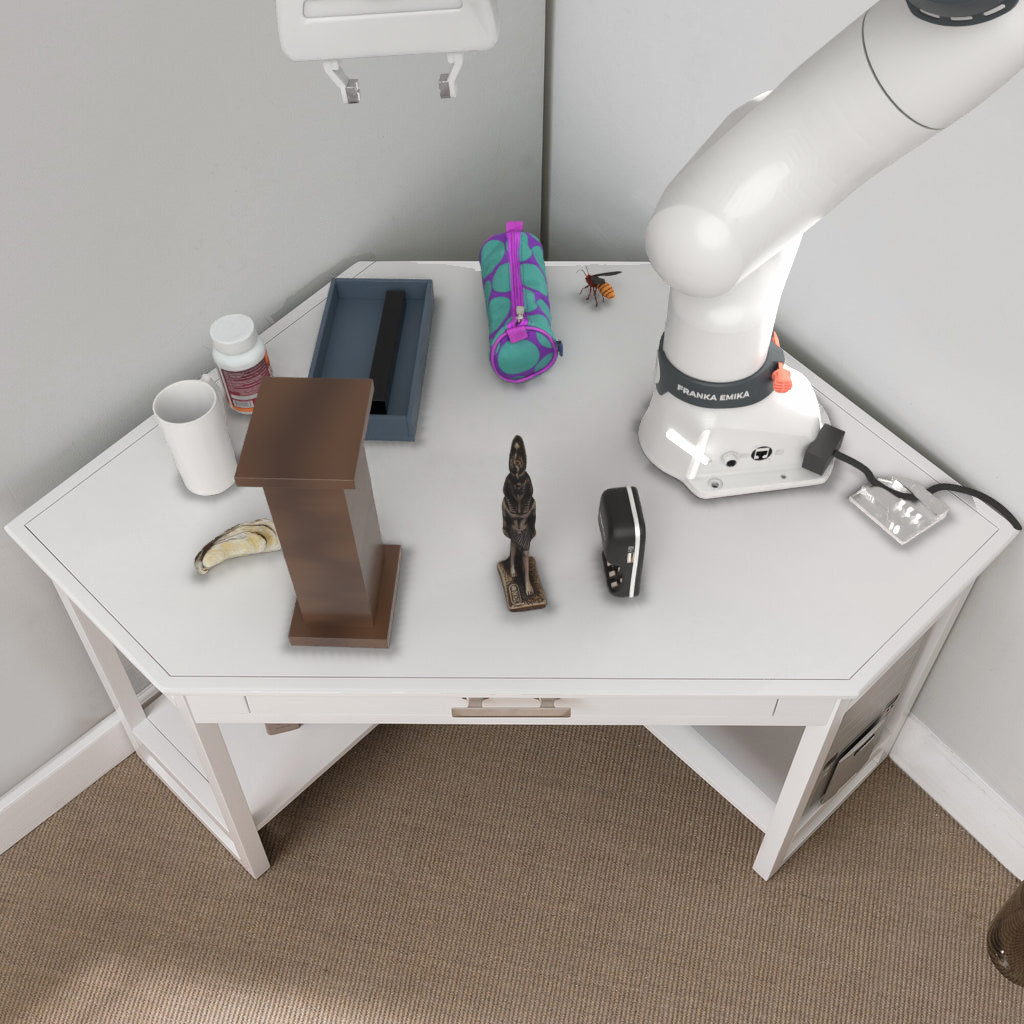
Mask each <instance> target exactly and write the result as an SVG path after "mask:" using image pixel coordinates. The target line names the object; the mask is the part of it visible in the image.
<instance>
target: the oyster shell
mask: <svg viewBox="0 0 1024 1024" xmlns="http://www.w3.org/2000/svg"><path fill="white" fill-rule="evenodd" d="M280 550H282V548H281V545H280V542H279V539H278V535H277V532H276V529H275V526H274V523H273V520H270V519H269V518H258V519H256V520H254V521H245V522H243V523H238V524H236V525H234V526H232V527H230V528H228V529H226V530H224V532H222V533H221V534H219V535H217V536H216V537H214V539H212V540H210V541H209V542H207V544H205V545H204V546H203V547H202V548H201V550H200V551H199V552H198V553H197V555H196V556H195V557H194V562H193V565H194V567H195V570H196V572H197V574H198V575H201V576H202V575H205V574H207V573H208V572H209V570H210V569H211V568H213V567H214V566H216V565H218V564H220V563H222V562H225V561H227V560H230V559H233V558H239V557H246V556H250V555H253V554H260V553H271V552H275V551H280Z"/></svg>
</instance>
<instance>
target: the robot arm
mask: <svg viewBox="0 0 1024 1024" xmlns="http://www.w3.org/2000/svg"><path fill="white" fill-rule="evenodd" d="M273 1H274V2H275V5H274V6H275V17H276V27H277V34H278V41H279V46H280V50H281V52H282V54H283V55H284V56H286V58H287V59H288V60H289V61H290V62H293V63H301V62H302V63H304V62H305V63H306V62H318V61H322V67H323V70H324V72H325V73H326V75H327V76H328V77H329V78H330V80H331V81H332V82H333V83H334V84H335V86H337V88H338V89H339V90H340V94H341V99H342V103H343V105H351V104H360V100H361V98H362V93H361V89H360V88H359V87H360V82H359V79H358V78H350V77H349V76H348V74H347V73H346V72H345V71H344V69H343V68H342V66H341V64H342V61H343V60H351V59H354V60H355V59H368V58H370V59H371V58H386V57H387V58H388V57H399V56H400V57H401V56H416V55H417V56H418V55H433V54H446V58H447V63H448V64H451V66H450V69H449V71H448V73H440V74H439V79H438V89H439V90H440V92H439V97H440V99H441V100H442V99H456V98H457V97H458V83H457V82H458V81H457V77H458V75H459V73H460V70H461V68H462V66H463V63H464V60H465V55H466V53H467V52H482V51H483V52H484V51H491V50H493V48H494V47H495V45H496V43H498V40H499V38H500V34H501V22H500V21H501V20H500V10H499V4H498V0H273ZM1022 69H1024V0H878V1H876V2H875V3H873V4H872V6H870V7H869V8H868V9H867V10H865V11H864V12H863V13H862V14H861V15H859V16H858V17H856V18H855V19H854V20H853V21H852V22H851V23H849V24H848V25H847V26H846V27H844V28H843V29H842V30H840V32H838V33H837V34H836V35H834V37H832V38H831V39H830V40H829V41H828V42H826V43H825V44H823V46H822V47H820V48H818V50H817V51H815V52H814V53H813V54H812V55H810V56H809V57H808V58H807V59H806V60H804V61H802V63H801V64H800V65H798V66H797V67H796V68H795V69H794V70H793V71H792V72H791V73H790V74H788V75H787V76H786V77H785V78H784V79H783V80H782V81H781V82H780V83H779V84H778V85H777V86H776V87H774V89H772V90H767V91H765V92H763V93H760V94H759V95H757V96H755V97H753V98H752V99H750V100H748V101H747V102H745V103H743V104H742V105H740V106H738V107H737V108H735V109H734V110H732V112H730V113H729V114H728V115H726V117H725V118H724V119H723V120H722V122H721V123H720V124H719V125H718V127H717V128H716V129H715V130H714V131H713V132H712V133H711V134H710V136H709V137H708V138H707V139H706V140H705V142H704V143H703V144H702V145H701V146H700V147H699V148H698V149H697V150H696V152H695V153H694V154H693V156H691V158H690V159H689V160H688V161H687V163H686V164H685V165H684V166H683V167H682V168H681V169H680V170H679V171H678V173H677V174H676V175H675V176H674V177H673V179H671V181H670V182H669V183H668V184H667V186H666V187H665V188H664V190H663V192H662V194H661V196H660V197H659V199H658V202H657V204H656V206H655V208H654V209H653V212H652V215H651V217H650V219H649V222H648V224H647V227H646V230H645V234H644V245H645V246H644V248H645V252H646V256H647V259H648V262H649V264H650V265H651V267H652V268H653V270H654V272H655V273H656V274H657V276H658V277H659V278H660V279H661V280H662V281H663V282H664V283H665V284H666V285H668V286H669V289H668V290H669V291H668V299H667V308H666V316H665V323H664V324H665V325H664V330H663V332H662V334H661V336H660V339H659V343H658V349H656V357H655V363H654V365H655V366H654V377H653V378H654V383H655V385H654V390H653V393H652V397H651V399H650V402H649V404H648V407H647V409H646V411H645V413H644V414H643V416H642V418H641V420H640V423H639V426H638V433H637V434H638V441H639V442H638V443H639V445H640V447H641V450H642V451H643V453H644V455H645V456H646V458H647V459H648V460H649V461H650V462H651V463H652V464H653V465H654V466H655V467H657V468H658V470H660V471H662V472H664V473H666V474H667V475H669V476H671V477H673V478H675V479H677V480H679V481H680V482H681V483H683V485H685V486H686V488H687V489H688V490H689V491H690V492H691V493H692V494H693V495H695V497H698V498H699V499H704V500H708V499H714V498H716V499H718V498H724V497H731V496H733V497H734V496H740V495H741V496H742V495H748V494H755V493H763V492H770V491H771V492H772V491H779V490H780V491H781V490H786V489H795V488H803V487H811V486H818V485H822V484H825V483H826V482H827V481H828V479H830V476H831V475H832V472H833V471H834V465H835V460H836V459H838V460H839V461H841V462H844V463H846V464H848V465H850V466H852V467H853V468H854V469H857V470H858V471H860V473H863V474H864V476H865V478H866V480H867V481H868V482H869V484H870V483H871V484H872V485H875V486H878V487H881V488H883V489H885V490H887V491H888V492H890V493H892V494H893V495H895V496H897V497H899V498H902V499H907V500H918V498H917V497H916V496H914V495H913V494H908V493H902V492H899V491H896V490H894V489H891V488H889V487H888V486H886V485H884V484H883V483H881V482H880V481H878V480H877V479H878V478H876V477H875V476H874V473H873V471H872V470H871V469H870V468H869V467H868V466H867V465H866V464H863V462H861V461H860V460H857V459H855V458H853V457H852V456H850V455H847V454H845V453H844V452H841V451H840V449H841V448H842V447H841V446H842V443H843V441H844V437H845V435H846V431H845V430H843V429H841V428H838V427H836V426H833V425H832V422H831V420H830V417H829V415H828V412H827V411H826V410H825V408H824V406H823V405H822V403H821V402H820V401H819V400H818V398H817V396H816V393H815V391H814V388H813V386H812V384H811V382H810V381H809V379H808V378H807V377H806V375H804V374H803V373H801V372H800V371H798V370H797V369H795V368H792V367H790V366H788V365H787V364H785V359H786V358H785V351H784V349H783V348H782V347H781V345H780V341H779V337H778V335H777V333H776V331H775V330H774V325H775V322H776V317H777V313H778V308H779V305H780V301H781V297H782V293H783V290H784V288H785V285H786V283H787V280H788V277H789V274H790V271H791V269H792V266H793V263H794V261H795V258H796V255H797V253H798V250H799V247H800V244H801V241H802V238H803V236H804V233H805V232H807V231H808V230H809V229H811V228H812V227H813V226H814V225H815V224H817V223H818V222H819V221H821V219H823V218H824V217H826V216H827V215H828V214H830V212H831V211H833V210H834V209H835V208H836V207H838V205H840V204H841V203H842V202H843V201H844V200H846V199H847V198H848V197H849V196H850V195H852V194H853V193H854V192H855V191H856V190H857V189H859V188H860V187H862V185H864V184H865V183H866V182H868V181H869V180H870V179H872V178H873V177H875V176H876V175H877V174H879V173H880V172H882V171H883V170H885V169H886V168H888V167H889V166H892V164H894V163H896V162H897V161H898V160H900V159H901V158H903V157H904V156H906V155H908V154H909V153H911V152H912V151H913V150H915V149H916V148H918V147H920V146H921V145H923V144H924V143H926V142H927V141H928V140H930V139H931V138H933V137H935V136H937V134H939V133H941V132H942V131H944V130H946V129H947V128H949V127H950V126H951V125H953V124H954V123H956V122H957V121H959V120H961V118H963V117H965V116H967V115H968V114H969V113H970V112H971V111H973V110H974V109H976V108H977V107H978V106H980V105H981V104H983V102H985V101H986V100H988V99H989V98H990V97H991V96H992V95H994V94H995V93H996V92H998V91H999V90H1000V89H1001V88H1002V87H1003V86H1005V85H1006V84H1007V83H1008V82H1009V81H1010V80H1011V79H1013V78H1014V77H1015V76H1016V75H1017V74H1018V73H1019V72H1020V71H1022ZM773 330H774V331H773ZM772 335H773V336H772ZM925 489H926V490H927V491H928V492H930V493H931V494H932V495H934V494H935V493H937V492H941V491H949V492H950V491H951V492H957V493H961V494H965V495H968V496H971V497H973V498H976V499H979V500H980V501H982V502H984V503H986V504H988V505H989V506H991V507H992V508H993V509H995V510H996V511H998V513H999V514H1001V516H1003V517H1004V518H1005V519H1006V520H1007V521H1008V523H1010V525H1011V527H1012V528H1013V529H1014V530H1016V531H1020V532H1021V531H1022V530H1023V526H1022V525H1021V523H1020V522H1019V520H1018V519H1017V517H1016V516H1015V515H1014V514H1013V513H1012V512H1011V511H1010V510H1009V509H1008V508H1006V506H1004V505H1003V504H1002V503H1001V502H999V501H998V500H997V499H996V498H994V497H992V496H990V495H988V494H986V493H984V492H982V491H980V490H977V489H975V488H971V487H967V486H965V485H960V484H955V483H949V482H948V483H947V482H941V483H936V484H933V485H931V486H929V487H927V488H925Z"/></svg>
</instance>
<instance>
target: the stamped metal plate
mask: <svg viewBox="0 0 1024 1024" xmlns="http://www.w3.org/2000/svg"><path fill="white" fill-rule="evenodd" d="M876 479H877V480H878V481H880V482H881V483H883V484H884V485H886V486H888V487H889V488H891V489H894V490H896V491H899V492H902V493H908V494H913V495H914V496H916V497H917V498H918V500H907V499H902V498H899V497H897V496H895V495H893V494H892V493H890V492H888V491H887V490H885V489H883V488H881V487H878V486H875V485H872V484H871V483H870V482H869V483H868V484H863V485H862V486H861V488H860V489H859V490H858V491H855V492H853V493H852V494H851V495H850V496H849V498H848V500H849V502H851V503H852V504H853V505H854V506H855V507H857V509H859V510H860V511H861V512H862V513H863V514H864V515H865V516H867V517H868V518H869V519H870V520H872V521H873V522H874V523H875V524H876V525H877V526H878V527H880V528H881V529H882V530H883V531H884V532H886V533H887V534H888V535H889V536H890V537H891V538H893V539H894V540H895V541H896V542H897V543H898V544H900V545H901V546H904V545H906V544H907V543H909V542H910V541H912V540H913V539H914V538H916V537H918V536H920V535H921V534H922V533H924V532H925V531H927V530H929V529H930V528H931V527H933V526H934V525H936V524H937V523H939V522H940V521H942V520H944V519H945V518H946V517H947V515H948V513H949V510H950V507H949V506H948V505H946V504H945V503H944V502H942V500H940V499H939V498H938V497H936V496H935V495H934V494H931V493H930V492H928V491H927V490H926V489H927V488H925V487H923V486H922V485H921V484H920V483H918V482H917V480H912V479H908V478H903V477H898V476H895V475H892V477H891V479H890V480H889V479H886V478H880V477H878V478H876Z"/></svg>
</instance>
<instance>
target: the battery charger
mask: <svg viewBox="0 0 1024 1024" xmlns="http://www.w3.org/2000/svg"><path fill="white" fill-rule="evenodd" d="M599 498H600V499H599V505H598V511H597V512H598V514H597V523H598V528H599V532H600V537H601V544H602V552H601V559H602V564H603V565H602V566H603V570H604V576H605V580H606V586H607V591H608V592H609V594H610V595H611V596H613V597H616V598H634V597H638V596H639V594H640V587H641V580H642V573H643V567H644V560H645V551H646V543H647V528H646V527H647V526H646V522H645V516H644V513H643V507H642V502H641V498H640V495H639V491H638V488H637V487H636V486H634V485H624V486H620V487H619V486H618V487H617V486H616V487H610V488H607V489H605V490H603V492H602V493H601V495H600V497H599Z"/></svg>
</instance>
